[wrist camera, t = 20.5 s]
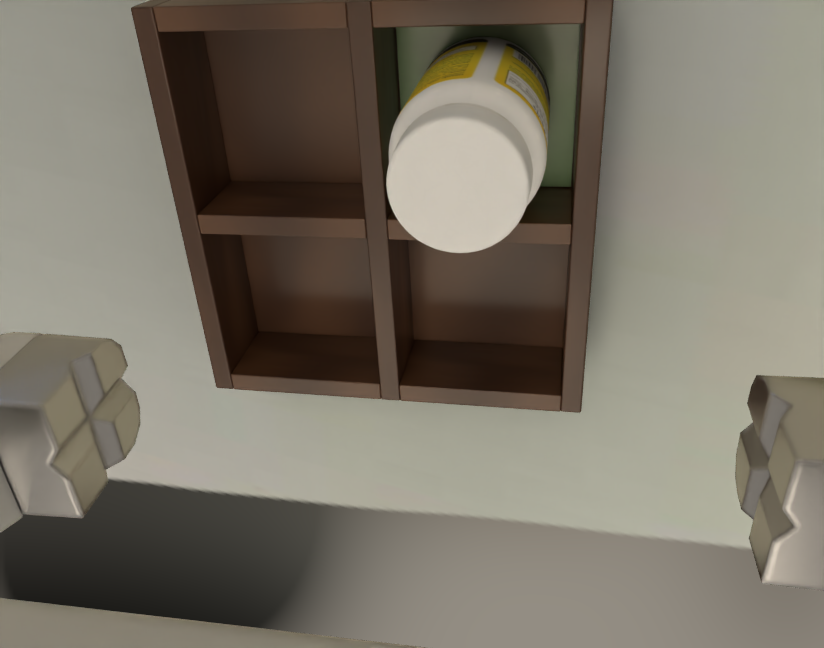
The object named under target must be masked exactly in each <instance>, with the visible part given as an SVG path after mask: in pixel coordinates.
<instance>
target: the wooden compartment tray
mask: <svg viewBox="0 0 824 648" xmlns="http://www.w3.org/2000/svg"><path fill="white" fill-rule="evenodd" d="M613 1H614V0H150V1H148V2H145V3H142V4H139V5H137V6H134V7H132V8H131V11H132V15H133V20H134V24H135V29H136V33H137V38H138V42H139V46H140V51H141V55H142V60H143V64H144V69H145V73H146V77H147V82H148V86H149V91H150V95H151V99H152V104H153V108H154V113H155V117H156V122H157V126H158V130H159V135H160V139H161V144H162V148H163V153H164V157H165V161H166V166H167V170H168V175H169V179H170V183H171V188H172V192H173V197H174V201H175V206H176V210H177V214H178V219H179V223H180V228H181V232H182V237H183V241H184V245H185V250H186V254H187V259H188V263H189V267H190V272H191V276H192V281H193V285H194V290H195V294H196V298H197V303H198V307H199V312H200V316H201V321H202V325H203V329H204V334H205V338H206V343H207V347H208V351H209V356H210V360H211V365H212V369H213V374H214V378H215V382H216V387H217V388H229V389H233V388H234V389H241V390H255V391H270V392H285V393H299V394H314V395H328V396H343V397H358V398H372V399H381V398H382V399H386V400H401V401H415V402H430V403H445V404H459V405H474V406H488V407H503V408H518V409H532V410H547V411H560V410H561V411H564V412H581V407H582V394H583V381H584V369H585V356H586V343H587V331H588V318H589V305H590V293H591V280H592V267H593V255H594V242H595V229H596V217H597V204H598V191H599V179H600V166H601V153H602V141H603V128H604V115H605V103H606V90H607V77H608V65H609V52H610V39H611V27H612V14H613ZM475 37H494V38H500V39H503V40H506V41H509V42H511V43H514V44H516V45H517V46H519V47H521V48H522V49H523V50H525V51H526V52H527V53H528V54H529V55H530V56H531V57H532V58H533V59H534V60H535V61H536V63H537V64H538V65H539V67H540V68H541V70H542V72H543V74H544V76H545V79H546V82H547V85H548V90H549V96H550V111H549V131H548V147H547V161H546V168H545V172H544V176H543V179H542V182H541V184H540V187H539V189H538V191H537V193H536V195H535V196H534V197H533V199H532V200H531V202H530V203H529V204H528V205H527V207H526V209H525V212H524V214H523V216H522V218H521V220H520V221H519V223H518V224H517V226H516V227H515V228H514V229H513V230H512V231H511V233H510V234H509V235H507V236H506V237H505V238H504V239H502V240H501V241H500V242H498V243H496V244H494V245H493V246H491V247H488V248H486V249H483V250H480V251H475V252H469V253H451V252H446V251H441V250H438V249H435V248H432V247H430V246H428V245H426V244H424V243H422V242H420V241H418V240H417V239H416V238H414V237H413V236H412V235H411V234H409V233H408V232H407V231H406V230H405V228H404V227H403V226H402V225H401V224H400V222H399V221H398V219H397V218H396V216H395V214H394V212H393V210H392V208H391V205H390V203H389V199H388V194H387V187H386V177H387V170H388V165H389V143H390V137H391V133H392V129H393V126H394V124H395V122H396V120H397V117H398V116H399V114H400V112H401V111H402V109H403V107H404V106H405V104H406V102H407V101H408V99H409V98H410V96H411V94H412V93H413V91H414V89H415V88H416V86H417V85H418V83H419V81H420V80H421V78H422V77H423V75H424V73H425V72H426V70H427V69H428V67H429V66H430V64H431V63H432V62H433V61H434V59H435V58H436V57H437V56H438V55H439V54H440V53H441V52H443V51H444V50H445V49H446V48H448V47H449V46H451V45H453V44H455V43H457V42H459V41H462V40H465V39H470V38H475Z"/></svg>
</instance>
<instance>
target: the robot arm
mask: <svg viewBox="0 0 824 648" xmlns="http://www.w3.org/2000/svg"><path fill="white" fill-rule="evenodd" d="M127 366H128V365H127V362H126V359H125V356H124V353H123V350H122V347H121V345H120V344H118V343H117V342H115V341H114V340H112V339H107V338H94V337H81V336H68V335H55V334H41V333H24V332H12V333H6V334H1V335H0V532H2V531H3V530H4V529H6V528H8V527H9V526H11V525H12V524H13V523H15V522H17V521H18V520H19V519H21V518H22V514H28V515H44V516H59V517H74V518H83V517H84V516H85V514H86V513H87V511H88V510H89V508H90V507H91V506H92V504H93V503H94V502H95V500H96V499H97V497H98V496H99V495H100V493H101V492H102V490H103V489H104V488H105V486H106V485H107V483H108V477H107V472H106V469H108V468H110V467H111V466H113V465H115V464H117V463H119V462H120V461H122V460H124V459H125V458H126V456H127V455H128V453H129V452H130V450H131V449H132V447H133V446H134V444H135V442H136V438H137V434H138V431H139V427H140V406H139V403H138V399H137V395H136V392H135V391H134V390H133V389H132V388H131V387H130V386H129V385H128V384H127V383H126V382H125V381H124V380H123V379H122V376H123V374H124V372H125V370H126V368H127ZM747 404H748V407H749V410H750V414H751V417H752V420H753V423H752V424H750V425H749V426H748V427H747V428H746V429H744V430H743V431H742V432H741V433H740V437H739V442H738V448H737V453H736V471H735V479H736V487H737V494H738V498H739V502H740V506H741V509H742V510H743V511H744V512H745V513H746V514H747V515H749V516H750V517H751V518H752V519H753V524H752V528H751V532H750V536H749V540H750V543H751V547H752V550H753V554H754V558H755V561H756V565H757V568H758V572H759V575H760V579H761V583H762V584H770V585H778V586H787V587H795V588H804V589H812V590H820V591H824V378H815V377H790V376H765V375H757V376H756V378H755V380H754V382H753V384H752V386H751V390H750V394H749V398H748V402H747ZM0 648H425V647H416V646H408V645H399V644H390V643H382V642H374V641H365V640H356V639H347V638H339V637H331V636H322V635H313V634H305V633H296V632H287V631H279V630H270V629H262V628H253V627H243V626H236V625H227V624H218V623H210V622H201V621H192V620H184V619H175V618H166V617H158V616H149V615H140V614H131V613H123V612H115V611H106V610H98V609H89V608H80V607H71V606H64V605H54V604H45V603H38V602H29V601H21V600H11V599H3V598H0Z"/></svg>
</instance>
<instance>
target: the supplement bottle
mask: <svg viewBox="0 0 824 648" xmlns="http://www.w3.org/2000/svg"><path fill="white" fill-rule="evenodd" d="M549 111H550V96H549V90H548V85H547V82H546V79H545V76H544V74H543V72H542V70H541V68H540V67H539V65H538V64H537V63H536V61H535V60H534V59H533V58H532V57H531V56H530V55H529V54H528V53H527V52H526V51H525V50H523V49H522V48H521V47H519V46H517V45H516V44H514V43H511V42H509V41H506V40H503V39H500V38H494V37H475V38H470V39H465V40H462V41H459V42H457V43H455V44H453V45H451V46H449V47H448V48H446V49H445V50H444V51H443V52H441V53H440V54H439V55H438V56H437V57H436V58H435V59H434V61H433V62H432V63H431V64H430V66H429V67H428V69H427V70H426V72H425V73H424V75H423V77H422V78H421V80H420V81H419V83H418V85H417V86H416V88H415V89H414V91H413V93H412V94H411V96H410V98H409V99H408V101H407V102H406V104H405V106H404V107H403V109H402V111H401V112H400V114H399V116H398V117H397V120H396V122H395V124H394V126H393V129H392V133H391V137H390V143H389V165H388V170H387V177H386V187H387V194H388V199H389V203H390V205H391V208H392V210H393V212H394V214H395V216H396V218H397V219H398V221H399V222H400V224H401V225H402V226H403V227H404V228H405V230H406V231H407V232H408V233H409V234H411V235H412V236H413V237H414V238H416V239H417V240H418V241H420V242H422V243H424V244H426V245H428V246H430V247H432V248H435V249H438V250H441V251H446V252H451V253H469V252H475V251H480V250H483V249H486V248H488V247H491V246H493V245H494V244H496V243H498V242H500V241H501V240H502V239H504V238H505V237H506V236H507V235H509V234H510V233H511V231H512V230H513V229H514V228H515V227H516V226H517V224H518V223H519V221H520V220H521V218H522V216H523V214H524V212H525V209H526V207H527V205H528V204H529V203H530V202H531V200H532V199H533V197H534V196H535V195H536V193H537V191H538V189H539V187H540V184H541V182H542V179H543V176H544V172H545V168H546V161H547V147H548V131H549Z"/></svg>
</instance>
